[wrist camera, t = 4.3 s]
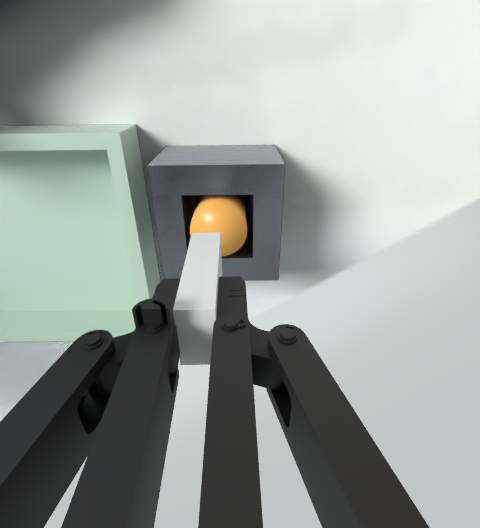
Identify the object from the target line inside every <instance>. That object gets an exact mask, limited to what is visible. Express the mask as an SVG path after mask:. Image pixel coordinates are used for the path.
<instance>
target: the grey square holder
mask: <svg viewBox="0 0 480 528" xmlns="http://www.w3.org/2000/svg"><path fill="white" fill-rule="evenodd" d="M147 168H148V175H149V182H150V188H151V195H152V202H153V209H154V215H155V222H156V229H157V235H158V242H159V249H160V255H161V262H162V269H163V276H164V279H174V278H181V275H182V271H183V267H184V263H185V259H186V255H187V251H188V247H189V242H190V238H191V235H190V224H191V221H192V217H193V214H194V211H195V208H196V203H195V195H250V223H247V237H246V240H245V242H244V244H243V245H242V247H241V248H240V249H239V250H237V251H236V252H234V253H233V254H230V255H227V256H221V258H222V277H232V276H241V278H242V279H243V280H244V281H245V280H278V278H279V260H280V243H281V226H282V209H283V191H284V174H285V163H284V161H283V159H282V157H281V155H280V154H279V152H278V150H277V148H276V146H275V145H218V146H166V147H165V148H164V149H163V150H162V151H161V152H160V153H159V154H158V155H157V156H156V157H155V158H154V159H153V160H152V161H151V162H150V163H149V164H148V165H147Z"/></svg>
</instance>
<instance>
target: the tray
mask: <svg viewBox="0 0 480 528" xmlns="http://www.w3.org/2000/svg"><path fill="white" fill-rule="evenodd" d="M160 282H161V281H160V275H159V269H158V262H157V256H156V249H155V243H154V237H153V230H152V224H151V217H150V211H149V205H148V198H147V192H146V185H145V179H144V173H143V166H142V160H141V153H140V147H139V141H138V134H137V128H136V124H135V125H48V126H0V342H29V341H75V340H76V339H78V338H79V337H80V336H81V335H83V334H85V333H87V332H89V331H93V330H106V331H109V332H110V333H111V334H112V336H113V337H117V336H121V335H125V334H128V333H131V332H133V331H134V330H135V328H136V327H135V322H134V318H133V313H132V308H133V307H134V306H135V305H136V304H137V303H139V302H140V301H143V300H146V299H151V298H153V295H154V292H155V289H156V286H157V285H158V284H159V283H160Z"/></svg>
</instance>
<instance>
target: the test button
mask: <svg viewBox="0 0 480 528" xmlns="http://www.w3.org/2000/svg"><path fill="white" fill-rule="evenodd" d="M194 232H220V236H221V256H227V255H230V254H233V253H234V252H236V251H237V250H239V249H240V248H241V247H242V245H243V244H244V242H245V240H246V237H247V219H246V203H245V197H244V195H199V198H198V202H197V205H196V208H195V211H194V214H193V217H192V221H191V224H190V235H191V234H192V233H194Z"/></svg>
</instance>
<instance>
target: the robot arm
mask: <svg viewBox="0 0 480 528" xmlns="http://www.w3.org/2000/svg"><path fill="white" fill-rule="evenodd" d="M132 313H133V318H134V322H135V327H136V328H135V330H134V331H133V332H131V333H128V334H125V335H121V336H117V337H113V336H112V334H111V333H110V332H109V331H106V330H93V331H89V332H87V333H85V334H83V335H81V336H80V337H79V338H78V339H76V340H75V341H74V342H73V344H72V345H71V346H70V347H69V348H68V349H67V350H66V351H65V352H64V353H63V354H62V355H61V357H60V358H59V359H58V360H57V361H56V362H55V363H54V364H53V365H52V366H51V367H50V369H49V370H48V371H47V372H46V373H45V374H44V375H43V376H42V377H41V378H40V379H39V380H38V382H37V383H36V384H35V385H34V386H33V387H32V388H31V389H30V390H29V391H28V392H27V393H26V395H25V396H24V397H23V398H22V399H21V400H20V401H19V402H18V403H17V404H16V405H15V407H14V408H13V409H12V410H11V411H10V412H9V413H8V414H7V415H6V416H5V417H4V418H3V420H2V421H1V422H0V528H44V526H45V524H46V523H47V521H48V520H49V518H50V516H51V515H52V513H53V511H54V510H55V508H56V506H57V505H58V503H59V501H60V500H61V498H62V497H63V495H64V493H65V492H66V490H67V488H68V487H69V485H70V484H71V482H72V480H73V479H74V477H75V475H76V474H77V472H78V471H79V469H80V467H81V466H82V464H83V462H84V461H85V459H86V457H87V456H88V457H87V460H86V462H85V465H84V468H83V471H82V473H81V476H80V479H79V481H78V484H77V487H76V489H75V492H74V495H73V497H72V500H71V503H70V506H69V509H68V511H67V514H66V516H65V519H64V522H63V524H62V527H61V528H154V522H155V516H156V510H157V504H158V498H159V492H160V486H161V480H162V475H163V468H164V463H165V457H166V451H167V444H168V439H169V433H170V427H171V421H172V414H173V409H174V402H175V397H176V391H177V385H178V379H179V371H178V362H179V357H180V363H181V365H197V364H198V365H199V364H210V377H209V391H208V404H207V418H206V431H205V432H206V433H205V446H204V460H203V472H202V485H201V499H200V512H199V526H198V528H263V521H262V508H261V492H260V479H259V463H258V448H257V433H256V419H255V405H254V390H253V384H254V385H258V386H262V387H265V388H267V392H268V395H269V397H270V399H271V402H272V405H273V407H274V409H275V412H276V414H277V417H278V419H279V422H280V424H281V427H282V429H283V432H284V434H285V436H286V439H287V442H288V444H289V446H290V449H291V451H292V454H293V456H294V459H295V461H296V464H297V466H298V468H299V471H300V474H301V476H302V479H303V481H304V483H305V486H306V488H307V491H308V493H309V496H310V498H311V501H312V503H313V506H314V508H315V510H316V513H317V515H318V518H319V520H320V523H321V525H322V528H429V526H428V525H427V523H426V522H425V520H424V519H423V517H422V515H421V514H420V512H419V511H418V509H417V508H416V506H415V505H414V503H413V501H412V500H411V498H410V497H409V495H408V494H407V492H406V491H405V489H404V487H403V486H402V484H401V483H400V481H399V480H398V478H397V476H396V475H395V473H394V472H393V470H392V469H391V467H390V466H389V464H388V463H387V461H386V459H385V458H384V456H383V455H382V453H381V451H380V450H379V449H378V447H377V445H376V444H375V442H374V441H373V439H372V438H371V436H370V434H369V433H368V431H367V430H366V428H365V427H364V425H363V423H362V422H361V420H360V419H359V417H358V416H357V414H356V413H355V411H354V409H353V408H352V406H351V405H350V403H349V402H348V400H347V399H346V397H345V395H344V394H343V392H342V391H341V389H340V388H339V386H338V384H337V383H336V381H335V380H334V378H333V377H332V375H331V374H330V372H329V371H328V369H327V367H326V366H325V364H324V363H323V361H322V360H321V358H320V357H319V355H318V353H317V352H316V350H315V349H314V347H313V346H312V344H311V342H310V341H309V339H308V338H307V336H306V335H305V333H304V332H303V331H302V330H301V329H299V328H297V327H296V326H293V325H288V324H284V325H278V326H276V327H274V328H273V329H271V330H270V332H268V331H264V330H260V329H258V328H256V327H254V326H253V325H252V324H251V323H250V322H249V320H248V314H247V299H246V285H245V281H244V280H243V279H242V278H241V276H232V277H222V258H221V236H220V232H194V233H192V234H191V238H190V242H189V247H188V251H187V255H186V259H185V263H184V267H183V271H182V275H181V278H174V279H163V280H162V281H161V282H160V283H159V284H158V285H157V286H156V289H155V292H154V295H153V298H151V299H146V300H143V301H140V302H139V303H137V304H136V305H135V306H134V307H133V308H132Z"/></svg>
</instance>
